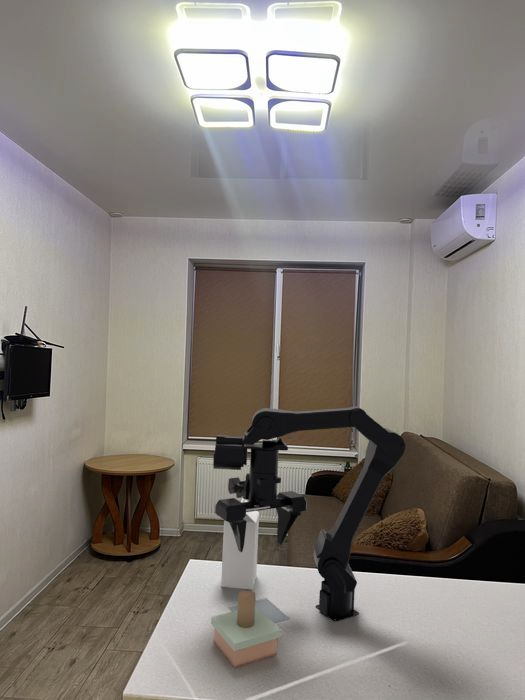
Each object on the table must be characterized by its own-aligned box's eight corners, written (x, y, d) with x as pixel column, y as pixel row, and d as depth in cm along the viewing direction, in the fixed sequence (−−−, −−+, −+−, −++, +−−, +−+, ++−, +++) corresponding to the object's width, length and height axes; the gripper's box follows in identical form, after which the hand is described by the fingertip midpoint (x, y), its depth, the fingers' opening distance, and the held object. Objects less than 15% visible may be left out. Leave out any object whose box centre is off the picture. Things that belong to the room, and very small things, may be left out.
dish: (253, 633, 89) (254, 614, 90) (276, 657, 83) (277, 636, 83) (213, 644, 85) (214, 624, 86) (234, 670, 79) (235, 649, 79)
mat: (266, 600, 102) (266, 597, 102) (289, 621, 94) (290, 618, 94) (228, 609, 97) (228, 607, 97) (249, 632, 90) (249, 629, 90)
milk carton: (256, 577, 113) (260, 495, 113) (252, 591, 106) (256, 504, 106) (226, 574, 113) (230, 493, 114) (220, 588, 106) (224, 502, 107)
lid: (255, 612, 90) (256, 578, 90) (281, 637, 83) (282, 600, 83) (211, 623, 86) (212, 588, 86) (234, 651, 78) (235, 612, 78)
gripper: (280, 459, 110) (277, 528, 110) (205, 465, 101) (202, 541, 100) (309, 470, 101) (306, 545, 100) (229, 478, 91) (225, 561, 91)
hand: (260, 547), depth 98 cm, fingers open, 9 cm apart
